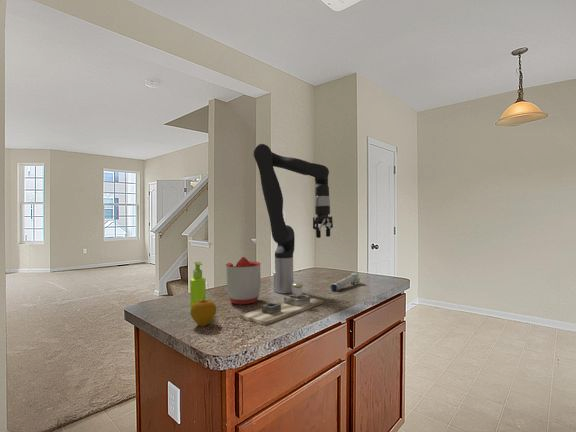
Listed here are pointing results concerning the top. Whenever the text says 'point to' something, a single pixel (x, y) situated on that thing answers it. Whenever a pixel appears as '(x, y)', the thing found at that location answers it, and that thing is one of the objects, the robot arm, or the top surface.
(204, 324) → the apple
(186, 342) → the top surface
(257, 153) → the robot arm
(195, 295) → the soap dispenser
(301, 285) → the pipe fitting
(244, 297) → the citrus juicer
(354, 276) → the grey piece
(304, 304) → the socket board
